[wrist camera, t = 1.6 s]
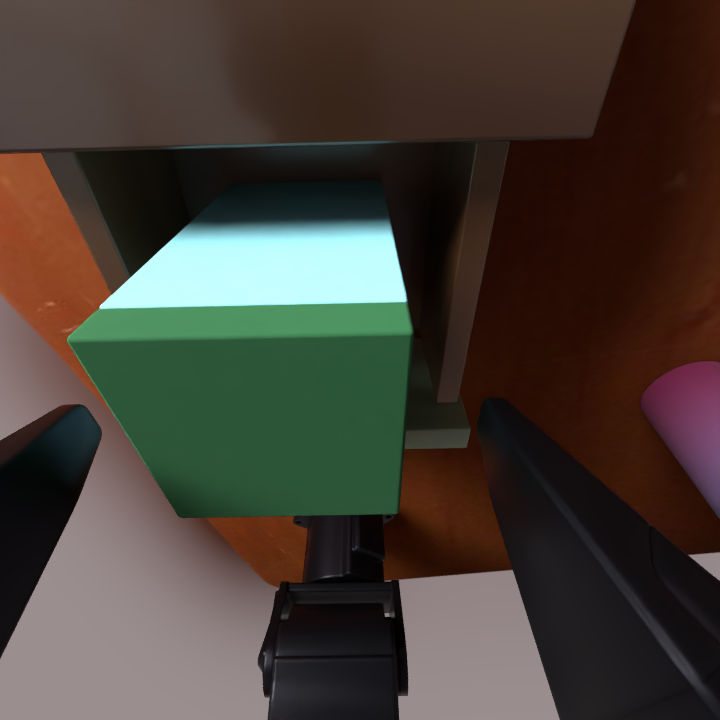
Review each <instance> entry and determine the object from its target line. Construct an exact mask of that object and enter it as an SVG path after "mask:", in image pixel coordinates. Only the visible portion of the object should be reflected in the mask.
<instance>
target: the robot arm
mask: <svg viewBox="0 0 720 720" xmlns="http://www.w3.org/2000/svg"><path fill="white" fill-rule="evenodd" d="M477 432H478V438H479V443H480V448H481V453H482V459H483V464H484V469H485V474H486V480H487V485H488V489H489V494H490V498H491V501H492V505H493V508H494V511H495V514H496V517H497V521H498V524H499V527H500V530H501V533H502V537H503V540H504V543H505V546H506V549H507V553H508V556H509V559H510V562H511V565H512V569H513V572H514V575H515V578H516V581H517V584H518V587H519V591H520V594H521V597H522V600H523V604H524V606H525V610H526V613H527V616H528V620H529V623H530V626H531V629H532V632H533V635H534V639H535V642H536V645H537V648H538V651H539V654H540V658H541V661H542V664H543V667H544V671H545V674H546V677H547V680H548V683H549V686H550V690H551V693H552V696H553V699H554V702H555V706H556V709H557V712H558V715H559V718H560V720H720V581H719V580H718V579H717V578H715V577H714V576H713V575H711V574H710V573H709V572H708V571H707V570H705V569H704V568H703V567H702V566H700V565H699V564H698V563H697V562H696V561H694V560H693V559H692V558H691V557H689V556H688V555H687V554H686V553H685V552H684V551H682V550H681V549H680V548H679V547H678V546H676V545H675V544H674V543H673V542H672V541H671V540H669V539H668V538H667V537H666V536H665V535H664V534H662V533H661V532H660V531H659V530H658V529H657V528H655V527H654V526H652V525H650V526H649V522H648V521H647V520H646V519H645V518H644V517H642V516H641V515H640V514H639V513H638V512H637V511H635V510H634V509H633V508H632V507H631V506H630V505H628V504H627V503H626V502H625V501H624V500H623V499H621V498H620V497H619V496H618V495H617V494H616V493H615V492H613V491H612V490H611V489H610V488H609V487H608V486H606V485H605V484H604V483H603V482H602V481H601V480H599V479H598V478H597V477H596V476H595V475H594V474H592V473H591V472H590V471H589V470H588V469H587V468H585V467H584V466H583V465H582V464H581V463H580V462H578V461H577V460H576V459H575V458H574V457H573V456H572V455H570V454H569V453H568V452H567V451H566V450H565V449H563V448H562V447H561V446H560V445H559V444H558V443H556V442H555V441H554V440H553V439H552V438H551V437H549V436H548V435H547V434H546V433H545V432H544V431H542V430H541V429H540V428H539V427H538V426H537V425H535V424H534V423H533V422H532V421H531V420H530V419H528V418H527V417H526V416H525V415H524V414H523V413H522V412H520V411H519V410H518V409H517V408H516V407H515V406H513V405H512V404H511V403H510V402H509V401H508V400H506V399H505V398H502V397H488V398H485V399H484V401H483V403H482V407H481V411H480V414H479V418H478V422H477ZM101 436H102V431H101V428H100V426H99V425H98V423H97V422H96V420H95V419H94V417H93V416H92V414H91V413H90V412H89V410H88V409H87V408H86V407H85V406H84V405H80V404H78V405H77V404H75V405H62V406H59V407H57V408H56V409H54V410H52V411H51V412H49V413H47V414H45V415H44V416H42V417H40V418H39V419H37V420H35V421H33V422H32V423H30V424H28V425H26V426H25V427H23V428H21V429H19V430H18V431H16V432H14V433H13V434H11V435H9V436H7V437H6V438H4V439H2V440H0V658H1V656H2V654H3V652H4V650H5V648H6V646H7V644H8V642H9V640H10V637H11V636H12V634H13V632H14V630H15V628H16V626H17V623H18V621H19V620H20V618H21V616H22V614H23V611H24V609H25V607H26V605H27V603H28V601H29V599H30V597H31V595H32V593H33V591H34V589H35V587H36V585H37V583H38V581H39V579H40V577H41V575H42V573H43V571H44V569H45V567H46V565H47V562H48V561H49V559H50V557H51V555H52V553H53V551H54V548H55V547H56V545H57V542H58V540H59V538H60V536H61V534H62V532H63V530H64V528H65V526H66V524H67V522H68V520H69V518H70V516H71V514H72V512H73V510H74V508H75V506H76V503H77V501H78V499H79V496H80V494H81V491H82V489H83V486H84V483H85V481H86V478H87V475H88V473H89V470H90V467H91V465H92V462H93V459H94V457H95V454H96V451H97V449H98V446H99V443H100V440H101ZM393 518H394V514H374V515H317V516H294V521H293V523H294V524H296V525H298V526H301V527H304V528H307V529H308V533H307V542H306V552H305V561H304V571H303V580H302V583H289V582H281V584H280V588H279V590H278V591H276V593H275V599H274V607H273V611H272V615H271V620H270V624H269V626H268V630H267V632H266V636H265V638H264V641H263V644H262V647H261V650H260V653H259V657H258V666H259V667H260V669H261V671H262V672H263V691H264V696H265V697H267V698H268V697H270V701H269V711H268V720H399V708H398V696H407V695H408V666H407V651H406V641H405V632H404V624H403V615H402V606H401V599H400V598H401V597H400V588H399V580H391V582H384V569H383V560H384V559H385V544H384V527H383V524H385V523H386V522H388V521H390V520H391V519H393ZM384 613H390V617H385V614H384Z"/></svg>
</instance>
